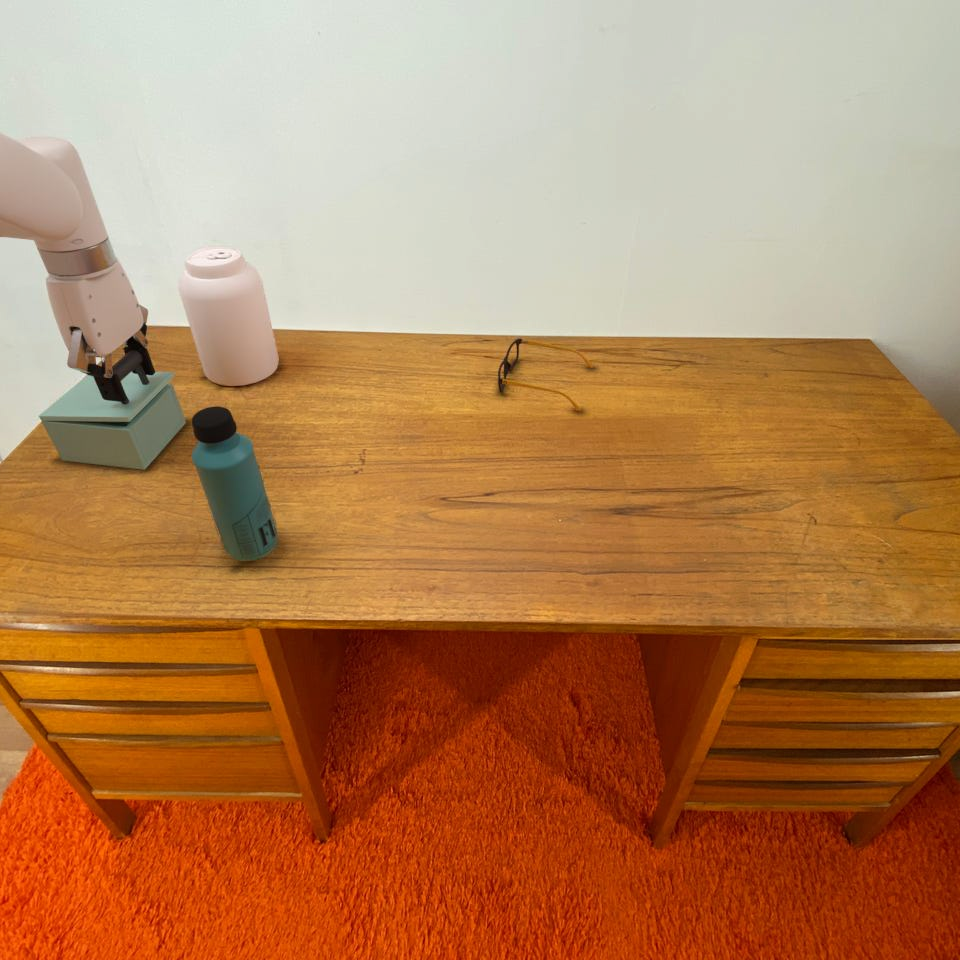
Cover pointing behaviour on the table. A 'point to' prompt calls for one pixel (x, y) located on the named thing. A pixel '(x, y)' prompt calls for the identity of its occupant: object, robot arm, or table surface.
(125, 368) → the lid
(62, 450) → the cool box
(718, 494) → the table surface
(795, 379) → the table surface
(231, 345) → the can
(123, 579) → the table surface
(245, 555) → the beverage bottle
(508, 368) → the eyeglasses
